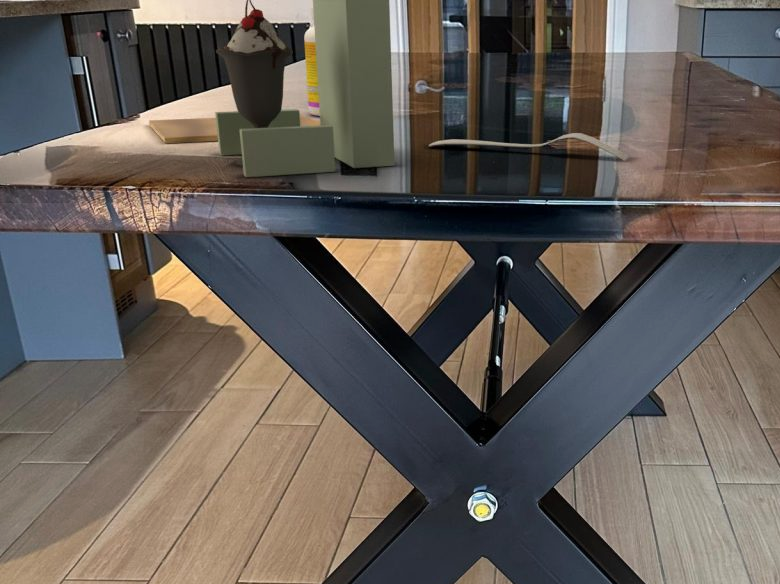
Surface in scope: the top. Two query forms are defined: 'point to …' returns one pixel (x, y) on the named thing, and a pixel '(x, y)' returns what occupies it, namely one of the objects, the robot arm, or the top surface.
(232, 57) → the dark grey goblet
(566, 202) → the top surface
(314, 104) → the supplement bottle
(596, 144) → the fork
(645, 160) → the top surface
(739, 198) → the top surface
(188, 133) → the cork mat
